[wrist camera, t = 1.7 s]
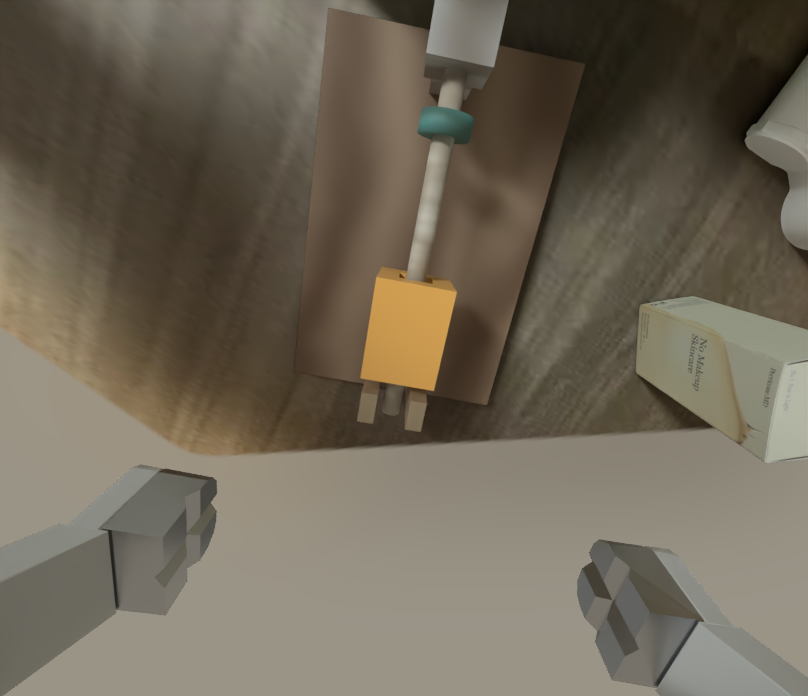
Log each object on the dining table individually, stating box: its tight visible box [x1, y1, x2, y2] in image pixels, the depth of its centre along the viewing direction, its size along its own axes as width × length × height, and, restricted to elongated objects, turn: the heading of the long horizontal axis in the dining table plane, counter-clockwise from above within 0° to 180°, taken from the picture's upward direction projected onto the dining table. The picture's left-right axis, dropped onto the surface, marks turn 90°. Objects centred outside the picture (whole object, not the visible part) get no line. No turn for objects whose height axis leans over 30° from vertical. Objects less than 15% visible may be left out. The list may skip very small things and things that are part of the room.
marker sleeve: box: [360, 267, 457, 391], centre depth 23 cm, size 4×6×4 cm
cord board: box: [294, 0, 585, 432], centre depth 24 cm, size 16×24×9 cm, turn 169°
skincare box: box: [636, 296, 808, 463], centre depth 25 cm, size 6×4×12 cm
